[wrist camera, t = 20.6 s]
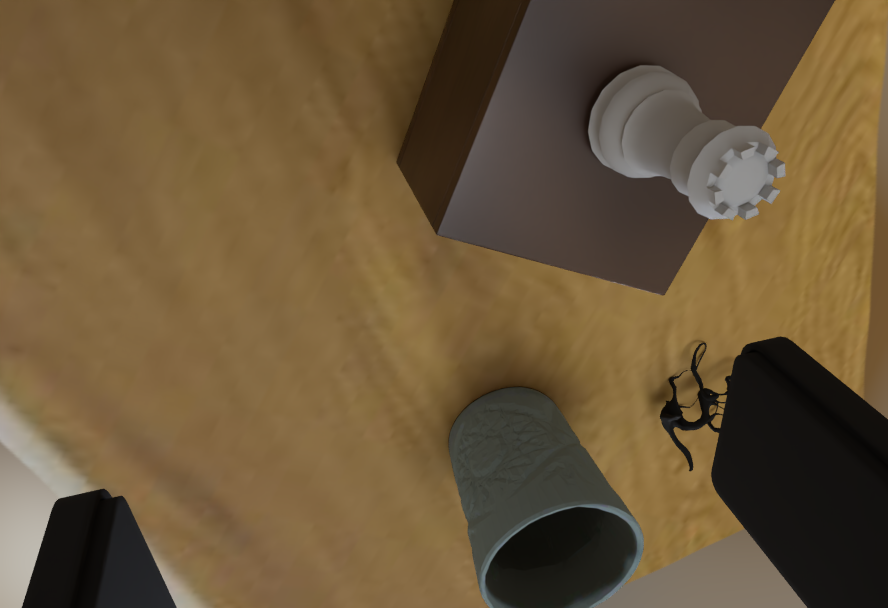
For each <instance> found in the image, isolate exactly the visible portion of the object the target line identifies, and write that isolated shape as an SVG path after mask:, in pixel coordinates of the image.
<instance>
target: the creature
mask: <svg viewBox="0 0 888 608" xmlns="http://www.w3.org/2000/svg"><path fill="white" fill-rule="evenodd" d="M703 344H704V345H705V346H706V343H701V344H699V346H698V347H697V348H696V350H695V352H694V355H693V359H692V364H691V371H692V373H693V375H694V377H695V379H696V381H697V383H698V384H699V387H700V391H699V393H698V398H699V402H700V407H701V410H702V415H701V418H700V419H698V420H697V421H695V422H688V421H686V420H685V419H684V418H683V415H682V413H683V412H682V411H681V409H680V408H690V407H691V406H690V407H686V406H679V405H678V402H677V398H676V385H675V384H674V382H673V381H674V379H676V378H679V377H680V376H681V374H682V373H683V372H682V373H681V374H680V375H679V376H675V377H671V378H670V379H669V383H670V385H671V387H672V388H673V398H672V400H671V401H667V400H666V405H665V407H664V408H663V409H662V411H661V414H660V419H661V421H662V425H663V427H664V428H665V430H666V431H667V432H668V433H669V435H670V437H671V438H672V440H673V442H674V443H675V445H676V446H677V447H678V448H679V449H680V450H681V451H682V452H683V454H684V455H685V457H686V458H687V461H688V463H689V467H690V470H689V471H692V470H693V462H692V457H691V454H690V452H689V451H688V449H687V448H686V447H685V446H684V445H683V444H682V443H681V442H680V441H679V440H678V439H677V437H676V435H675V433H674V430H673V429H674V427H678V428H680V429H681V430H685V431H688V430H697V429H700V428H701V427H703V426H704V425H705V424H708V426H709V427H710V428H711V429H712V430H713V431H714V432H718V433H720V428H715V427H714V426H713V425H712V424H711V421H712V420H713V419H714V417H715V415H722V414H719V413H716V412H717V409H716V412H715V413H714V414H713V415H711V416H710V415H709V408H710V406H711V405H717V408H718V406H719V405H718V403H726V402H719V401H717V400H716V399H717V398H718V397H719V395H727V394H728V391H727V392H725V393H724V394H718V393H715V392H713V391H712V390H710V389H707V388H704V389H703V383H702V380H701V378H700V376H699V375H698V373H697V371H696V370H697V367H698V365H699V362H700V360H701V359H702V357H703V355H704V353H705V351H706V348H705V351H704V352H703V354H702V356H701V358H700V360H699V362H698V364H697V366H696V354H697V351H698V350H699V348H700V346H701V345H703ZM686 371H688V370H686ZM684 372H685V371H684ZM730 379H731V376H727V377H726V378H725V381H726V383H727V390H728V389H729V384H730V381H729V380H730ZM710 394H713V395H710ZM698 398H697V399H698ZM696 401H697V400H696ZM715 402H716V403H717V404H716V403H715ZM693 405H694V404H693ZM719 407H720V406H719ZM720 408H722V407H720ZM722 409H723V408H722Z"/></svg>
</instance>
